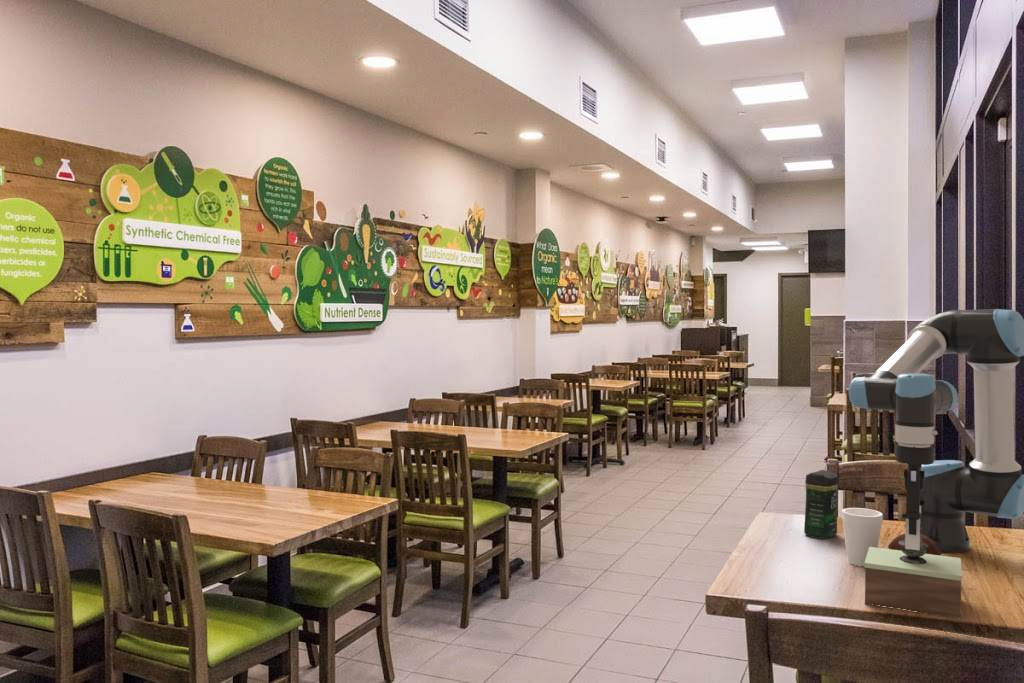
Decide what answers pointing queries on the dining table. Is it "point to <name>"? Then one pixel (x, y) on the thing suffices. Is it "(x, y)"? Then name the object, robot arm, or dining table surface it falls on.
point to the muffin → (932, 547)
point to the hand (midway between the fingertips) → (913, 541)
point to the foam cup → (861, 532)
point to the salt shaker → (914, 551)
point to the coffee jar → (821, 504)
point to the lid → (932, 568)
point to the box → (913, 592)
